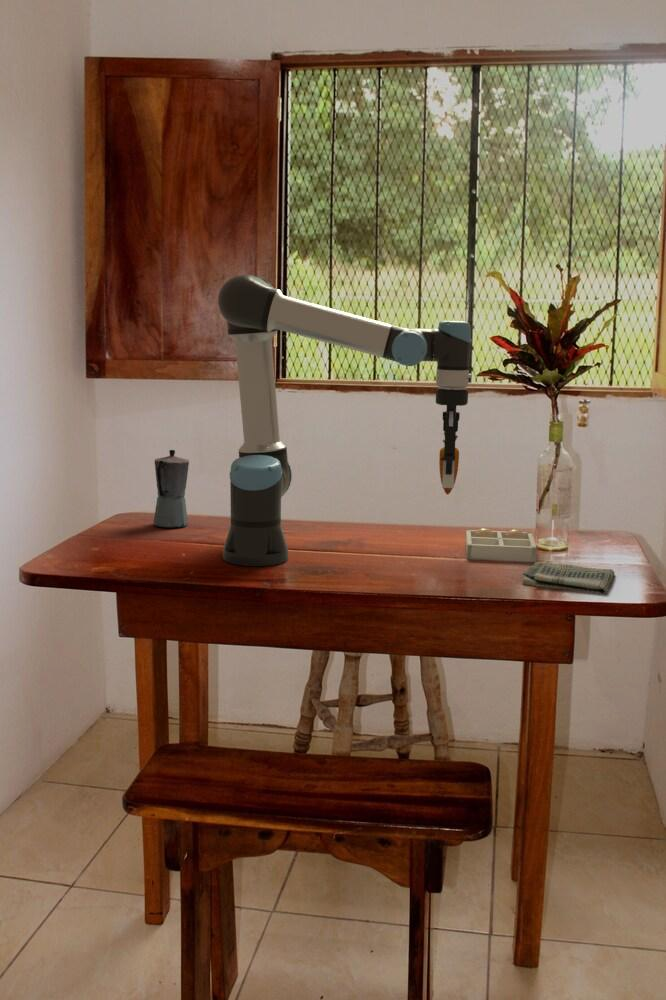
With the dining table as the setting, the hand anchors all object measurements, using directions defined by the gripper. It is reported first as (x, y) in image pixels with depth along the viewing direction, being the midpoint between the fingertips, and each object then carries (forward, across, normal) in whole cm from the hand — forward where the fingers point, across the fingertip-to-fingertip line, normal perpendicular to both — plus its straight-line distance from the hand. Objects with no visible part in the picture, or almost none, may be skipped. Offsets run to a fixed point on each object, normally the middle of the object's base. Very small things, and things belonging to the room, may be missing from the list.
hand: (447, 485), depth 251 cm
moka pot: (+17, +16, +72) cm, 75 cm away
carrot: (+2, 0, 0) cm, 2 cm away
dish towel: (+17, -20, -27) cm, 38 cm away
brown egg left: (+16, +6, -9) cm, 19 cm away
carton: (+16, +2, -13) cm, 21 cm away
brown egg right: (+16, +6, -17) cm, 24 cm away
